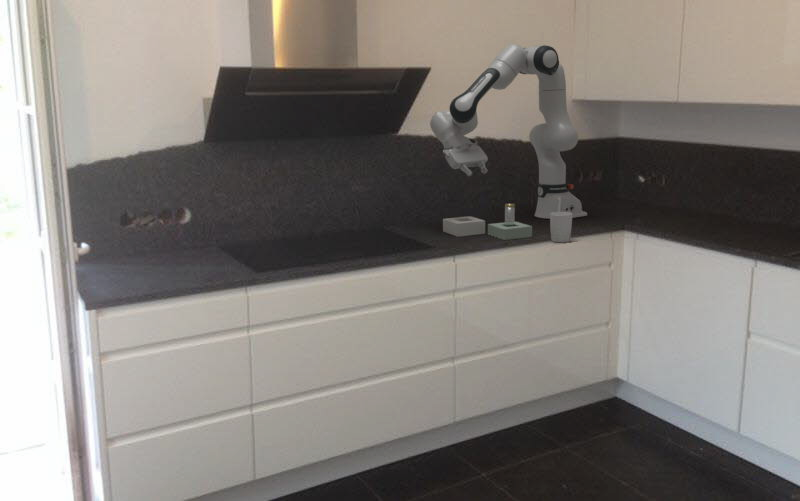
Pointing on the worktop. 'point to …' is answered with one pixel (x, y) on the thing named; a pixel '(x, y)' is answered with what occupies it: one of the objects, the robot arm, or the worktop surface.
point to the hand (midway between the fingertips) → (478, 173)
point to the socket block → (509, 231)
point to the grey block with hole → (464, 226)
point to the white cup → (560, 226)
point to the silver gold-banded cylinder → (509, 215)
